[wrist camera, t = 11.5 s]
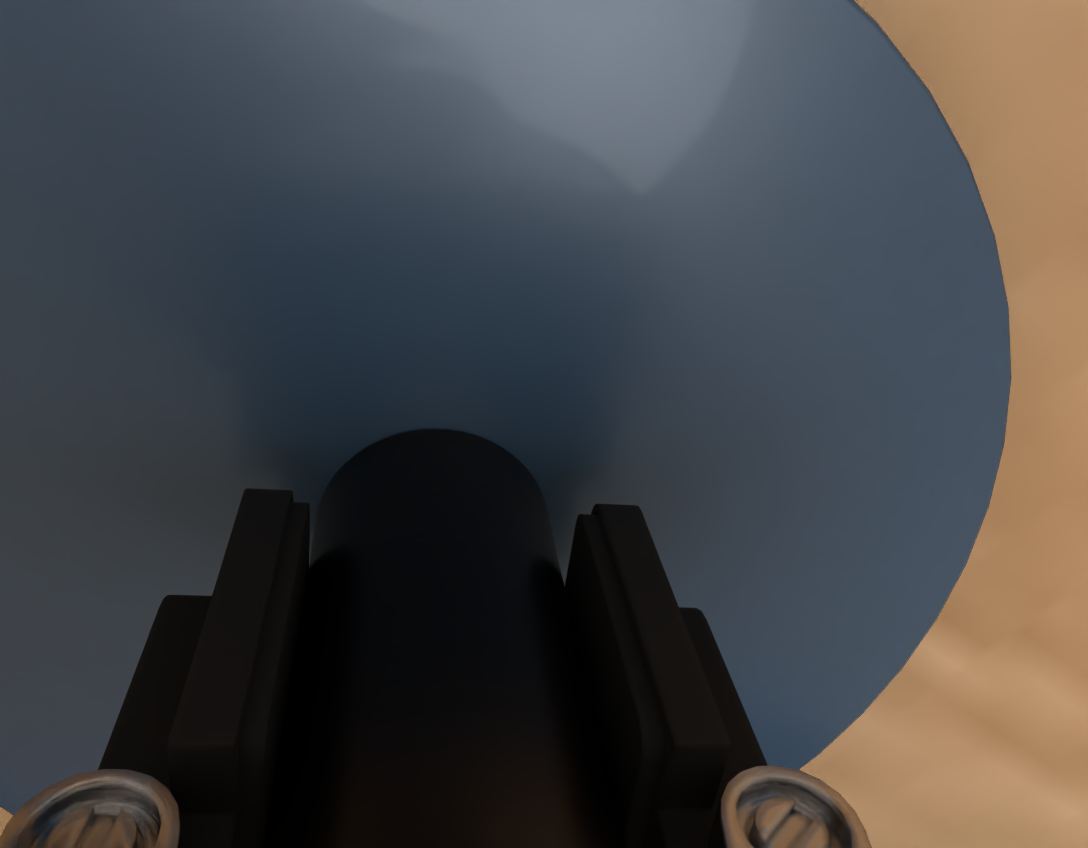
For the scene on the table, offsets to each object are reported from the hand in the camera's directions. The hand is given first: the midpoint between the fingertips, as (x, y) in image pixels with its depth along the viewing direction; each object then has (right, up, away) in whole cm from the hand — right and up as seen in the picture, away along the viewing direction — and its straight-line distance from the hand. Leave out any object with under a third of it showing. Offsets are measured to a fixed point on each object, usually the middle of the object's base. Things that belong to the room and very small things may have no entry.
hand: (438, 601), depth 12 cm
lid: (0, +1, +2) cm, 2 cm away
